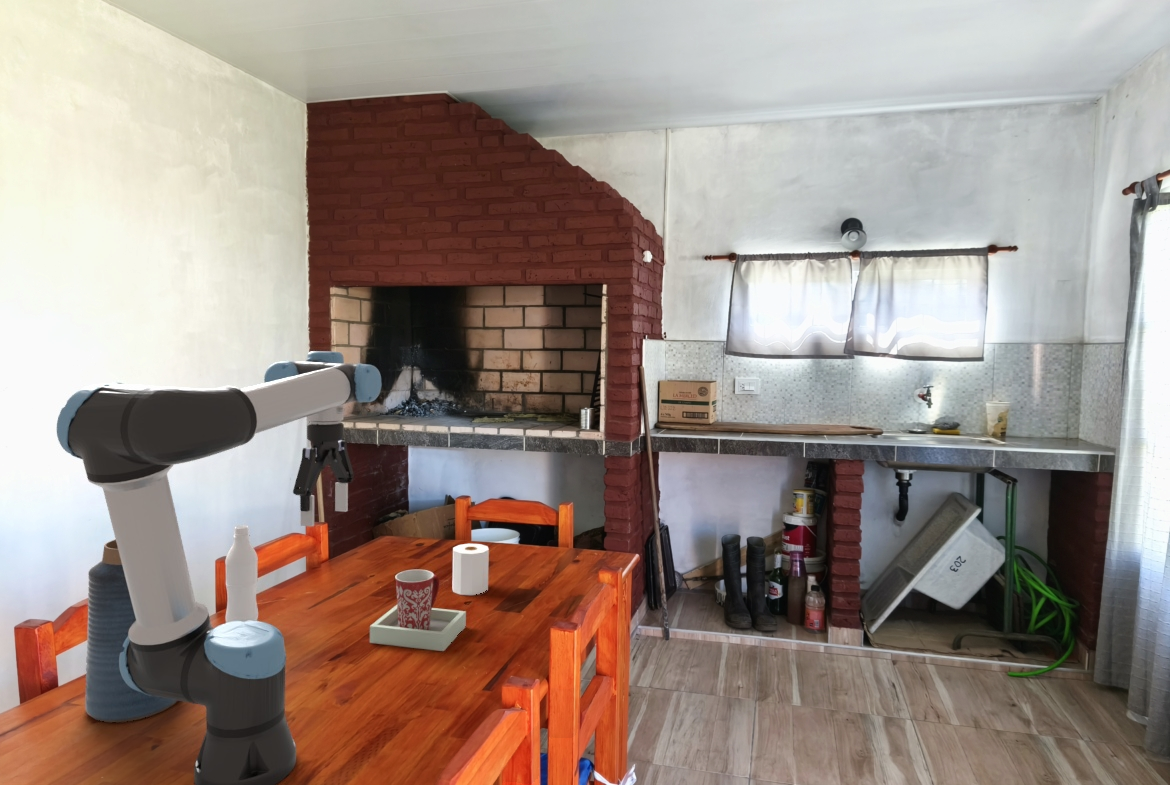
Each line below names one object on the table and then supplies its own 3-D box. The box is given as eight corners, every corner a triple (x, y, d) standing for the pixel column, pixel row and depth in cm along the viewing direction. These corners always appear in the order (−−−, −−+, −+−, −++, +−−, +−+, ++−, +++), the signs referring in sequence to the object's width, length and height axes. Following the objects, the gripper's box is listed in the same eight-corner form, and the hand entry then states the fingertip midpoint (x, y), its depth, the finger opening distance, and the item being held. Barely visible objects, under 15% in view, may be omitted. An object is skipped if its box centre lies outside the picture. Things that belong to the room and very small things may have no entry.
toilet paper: (482, 597, 198) (482, 554, 197) (446, 593, 200) (447, 551, 199) (492, 585, 208) (493, 544, 207) (458, 582, 210) (459, 542, 209)
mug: (414, 641, 164) (414, 584, 163) (386, 631, 168) (387, 576, 168) (451, 623, 175) (452, 570, 174) (424, 615, 179) (425, 563, 178)
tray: (443, 651, 163) (443, 634, 162) (369, 642, 166) (369, 626, 166) (465, 626, 177) (465, 611, 177) (397, 619, 180) (397, 604, 180)
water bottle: (218, 629, 171) (218, 528, 169) (245, 619, 177) (244, 521, 176) (238, 636, 168) (237, 532, 166) (264, 625, 174) (264, 525, 172)
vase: (70, 730, 126) (66, 557, 124) (104, 687, 142) (101, 532, 140) (172, 719, 131) (170, 552, 129) (194, 678, 147) (193, 528, 144)
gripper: (308, 429, 141) (308, 534, 143) (369, 417, 165) (368, 506, 167) (274, 427, 142) (274, 531, 144) (339, 415, 167) (339, 504, 168)
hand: (325, 518), depth 155 cm, fingers open, 13 cm apart
